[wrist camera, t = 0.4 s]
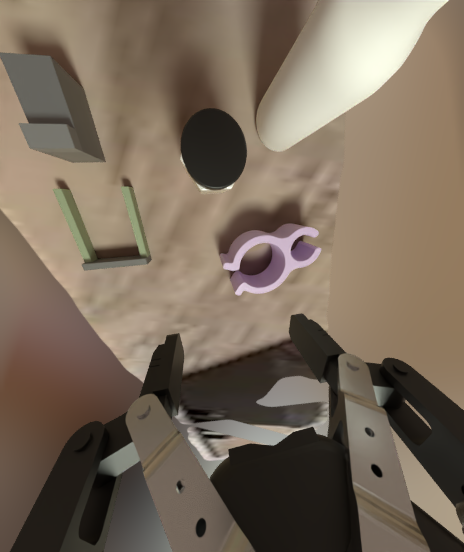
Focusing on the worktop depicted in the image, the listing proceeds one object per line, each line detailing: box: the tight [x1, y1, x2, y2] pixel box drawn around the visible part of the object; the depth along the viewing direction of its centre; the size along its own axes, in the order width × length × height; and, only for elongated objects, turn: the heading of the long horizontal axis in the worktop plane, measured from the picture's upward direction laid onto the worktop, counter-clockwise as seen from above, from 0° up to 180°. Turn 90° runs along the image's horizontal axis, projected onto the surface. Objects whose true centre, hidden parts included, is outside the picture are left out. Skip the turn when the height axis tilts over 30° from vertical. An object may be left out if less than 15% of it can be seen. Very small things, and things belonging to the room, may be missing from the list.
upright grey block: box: [0, 53, 106, 163], centre depth 22 cm, size 9×5×8 cm, turn 3°
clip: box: [220, 223, 321, 295], centre depth 36 cm, size 20×12×7 cm, turn 112°
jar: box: [180, 108, 247, 194], centre depth 25 cm, size 9×8×12 cm
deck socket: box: [53, 187, 152, 270], centre depth 30 cm, size 14×11×3 cm
